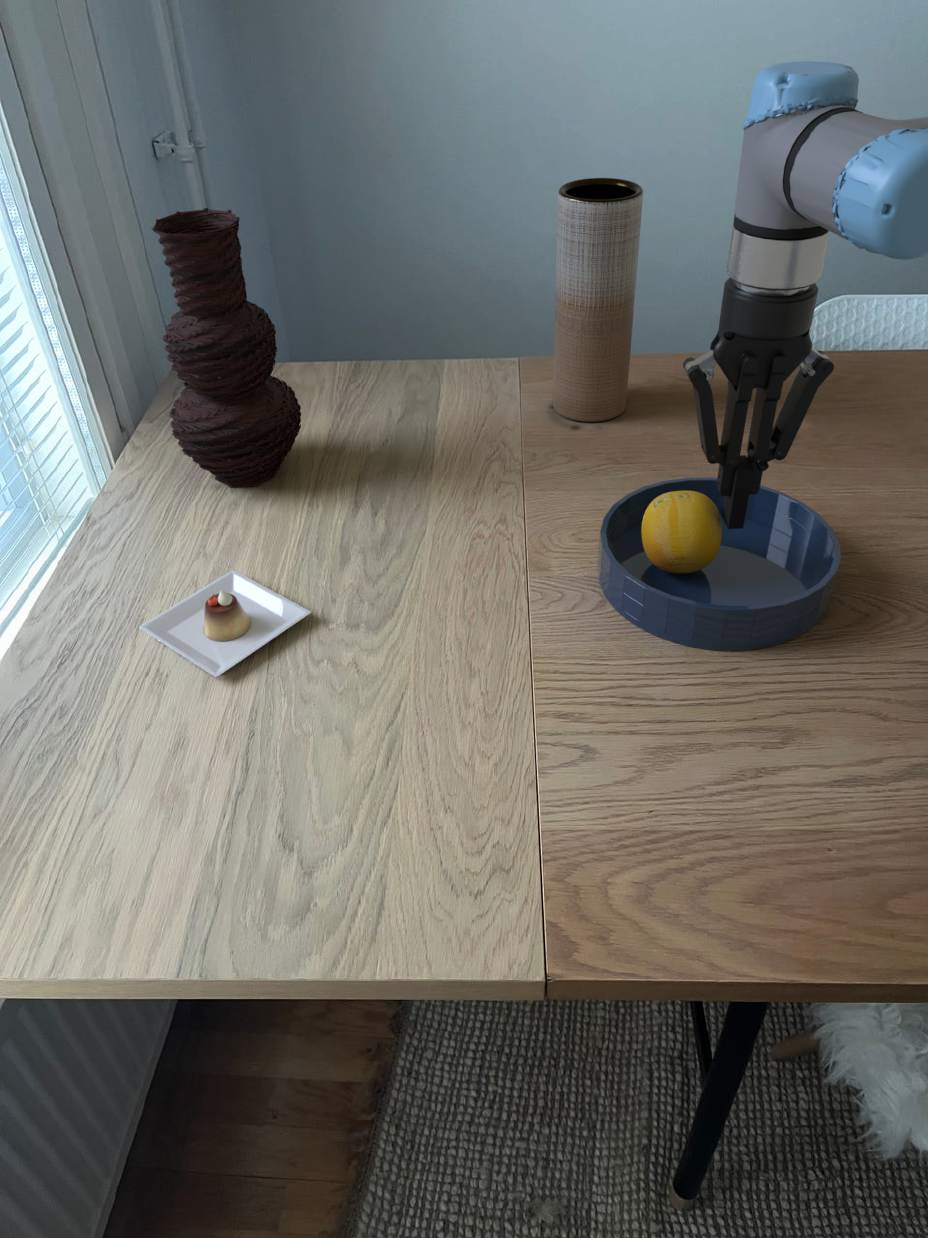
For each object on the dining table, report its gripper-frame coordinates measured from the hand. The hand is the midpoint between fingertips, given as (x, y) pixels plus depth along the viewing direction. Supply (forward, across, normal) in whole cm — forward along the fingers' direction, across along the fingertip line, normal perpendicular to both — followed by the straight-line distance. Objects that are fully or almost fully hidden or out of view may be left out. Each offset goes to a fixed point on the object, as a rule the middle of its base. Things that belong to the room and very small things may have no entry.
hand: (732, 520), depth 93 cm
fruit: (+6, +4, -1) cm, 7 cm away
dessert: (+7, +50, +4) cm, 51 cm away
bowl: (+7, +1, 0) cm, 7 cm away
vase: (+7, +53, -27) cm, 60 cm away
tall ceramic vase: (+7, +8, -40) cm, 41 cm away
